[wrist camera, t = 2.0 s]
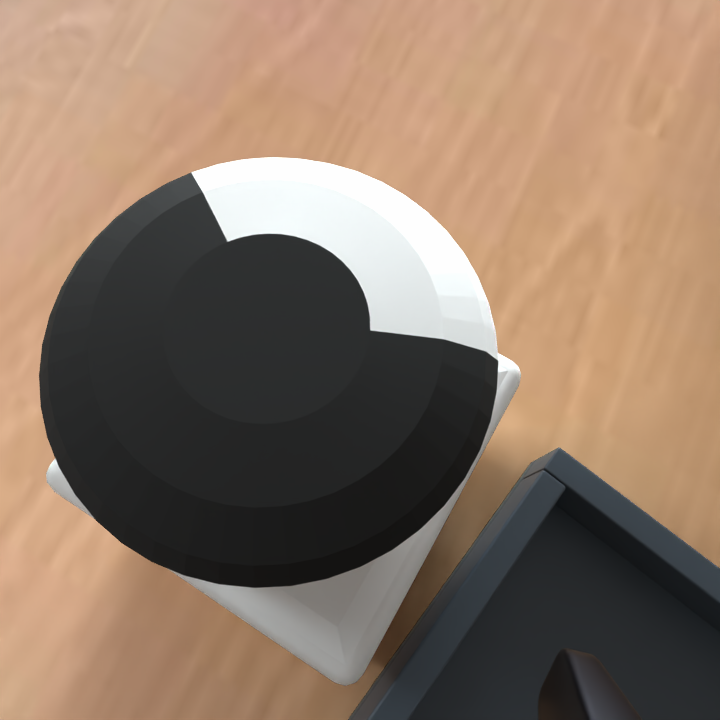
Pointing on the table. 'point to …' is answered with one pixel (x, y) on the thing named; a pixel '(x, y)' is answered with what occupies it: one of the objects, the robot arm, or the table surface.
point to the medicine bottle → (275, 394)
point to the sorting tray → (561, 610)
